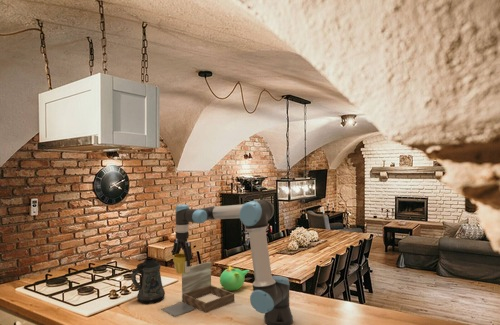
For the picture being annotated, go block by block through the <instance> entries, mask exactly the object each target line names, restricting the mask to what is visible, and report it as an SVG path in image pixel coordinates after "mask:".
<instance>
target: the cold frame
mask: <svg viewBox="0 0 500 325" xmlns="http://www.w3.org/2000/svg"><path fill="white" fill-rule="evenodd" d="M207 295H214V296H217V297H219V298H216V299H213V300H210V301H208V302H205V301H204V300H203V301H202V300H200V298H202V297H205V296H207ZM181 302H183V303H185V304H187V305H190V306H192V307H194V308H196V309H195V310H199V311H201V312H203V313H205V314H206V313H209V312H211V311H215V310H217V309H219V308H220V309H221V308H222V307H225V306H227V305H229V304H233V303H234V302H235V293H234V292H233V291H232V292H231V291H230V290H226V289H225V288H221V287H218V286H215V285H212V261H207V262H203V263H199V264H195V265H190V272H187V273H184V274H181Z"/></svg>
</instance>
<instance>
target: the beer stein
mask: <svg viewBox="0 0 500 325" xmlns="http://www.w3.org/2000/svg"><path fill="white" fill-rule="evenodd" d="M138 274H140V277H139V278H140V280H139V282H138V281H137V278H136V277H137V276H138ZM130 276H131V279H130V280H131V282H132V284H133V285H134V286H135V287H136V288H137V289H138V293H137V295H136V296H137V301H138V303H139V304H141V305H154V304H155V305H156V304H158V303H160V302H162V301H164V299H165V295H166V291H165V289H164V286H163V282H162V276H161V263H159V262H158V261H157V260H155V259H154V258H152V257H148V258H146V259H144V261H143V262H141V263H138V264H137V265H136V268H135V269H133V271H132V272H131V275H130Z"/></svg>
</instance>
